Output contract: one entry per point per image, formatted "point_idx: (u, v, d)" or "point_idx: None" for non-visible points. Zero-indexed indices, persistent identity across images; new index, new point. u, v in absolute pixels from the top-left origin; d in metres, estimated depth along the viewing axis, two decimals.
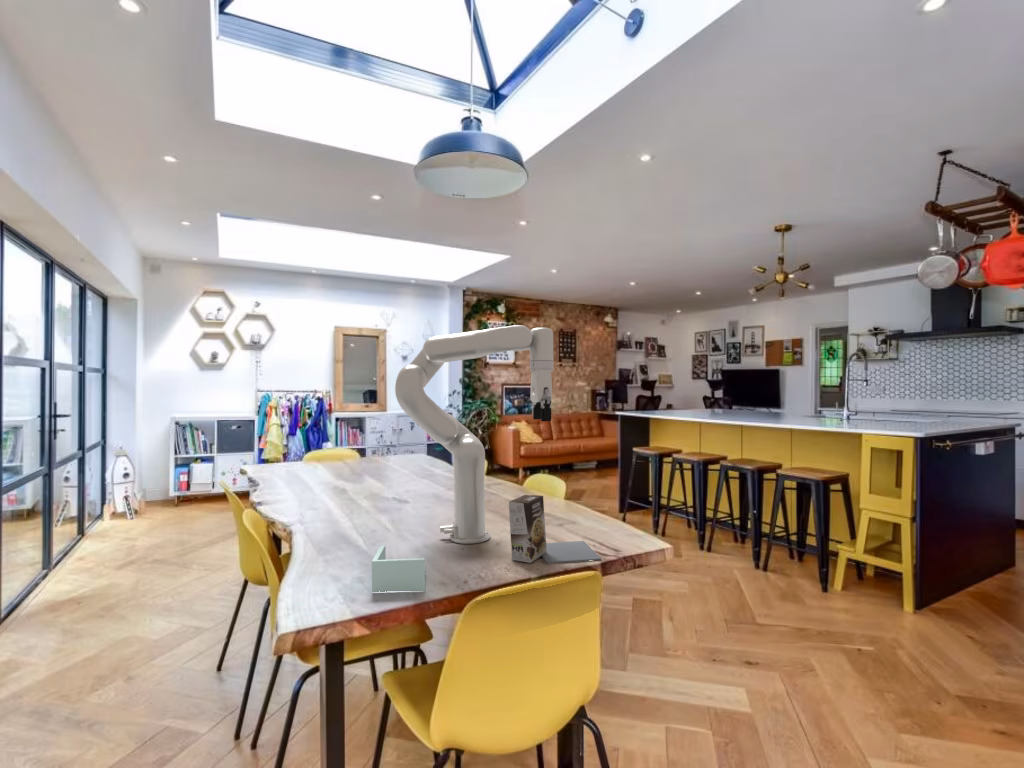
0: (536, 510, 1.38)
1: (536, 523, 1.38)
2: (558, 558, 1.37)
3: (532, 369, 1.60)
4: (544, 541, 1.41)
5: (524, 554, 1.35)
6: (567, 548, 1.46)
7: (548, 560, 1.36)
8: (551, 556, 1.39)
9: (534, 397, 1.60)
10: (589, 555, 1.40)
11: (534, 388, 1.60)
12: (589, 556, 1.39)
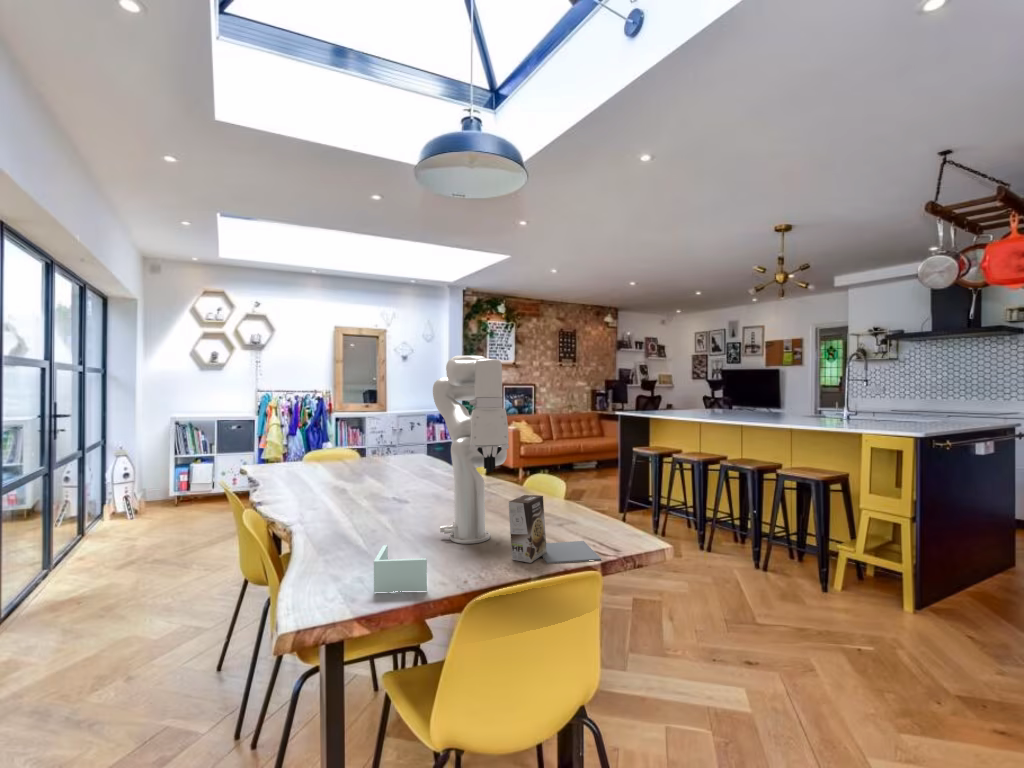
0: (536, 510, 1.38)
1: (536, 523, 1.38)
2: (558, 558, 1.37)
3: (495, 407, 1.35)
4: (544, 541, 1.41)
5: (524, 554, 1.35)
6: (567, 548, 1.46)
7: (548, 560, 1.36)
8: (551, 556, 1.39)
9: (495, 440, 1.36)
10: (589, 555, 1.40)
11: (495, 430, 1.36)
12: (589, 556, 1.39)
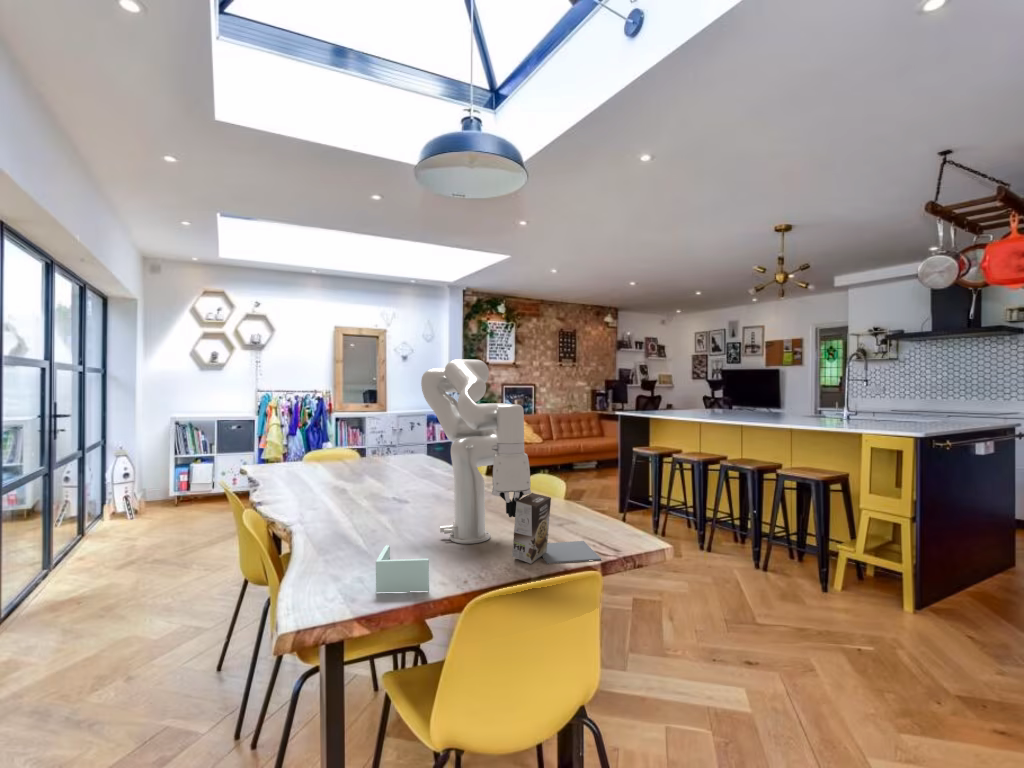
0: (543, 512, 1.36)
1: (541, 525, 1.37)
2: (558, 558, 1.37)
3: (517, 453, 1.36)
4: (546, 541, 1.41)
5: (525, 554, 1.35)
6: (567, 548, 1.46)
7: (548, 560, 1.36)
8: (551, 556, 1.39)
9: (518, 486, 1.36)
10: (589, 555, 1.40)
11: (517, 475, 1.37)
12: (589, 556, 1.39)
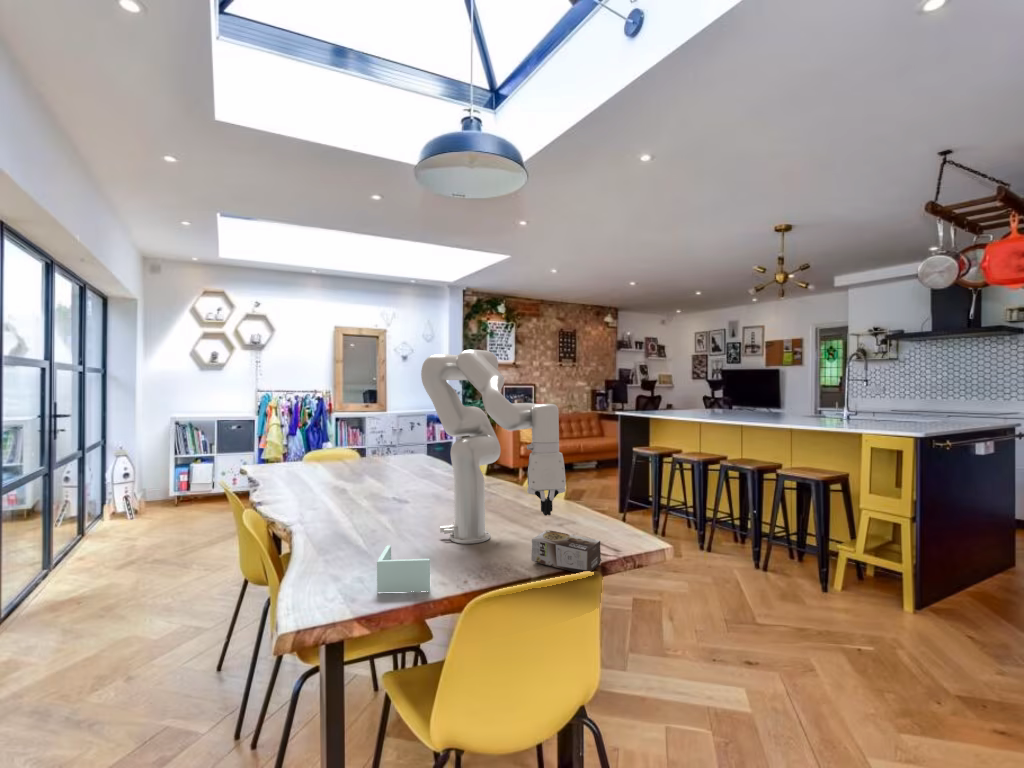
0: None
1: None
2: None
3: (553, 452, 1.38)
4: None
5: (538, 556, 1.33)
6: None
7: None
8: None
9: (553, 485, 1.38)
10: None
11: (553, 474, 1.38)
12: None
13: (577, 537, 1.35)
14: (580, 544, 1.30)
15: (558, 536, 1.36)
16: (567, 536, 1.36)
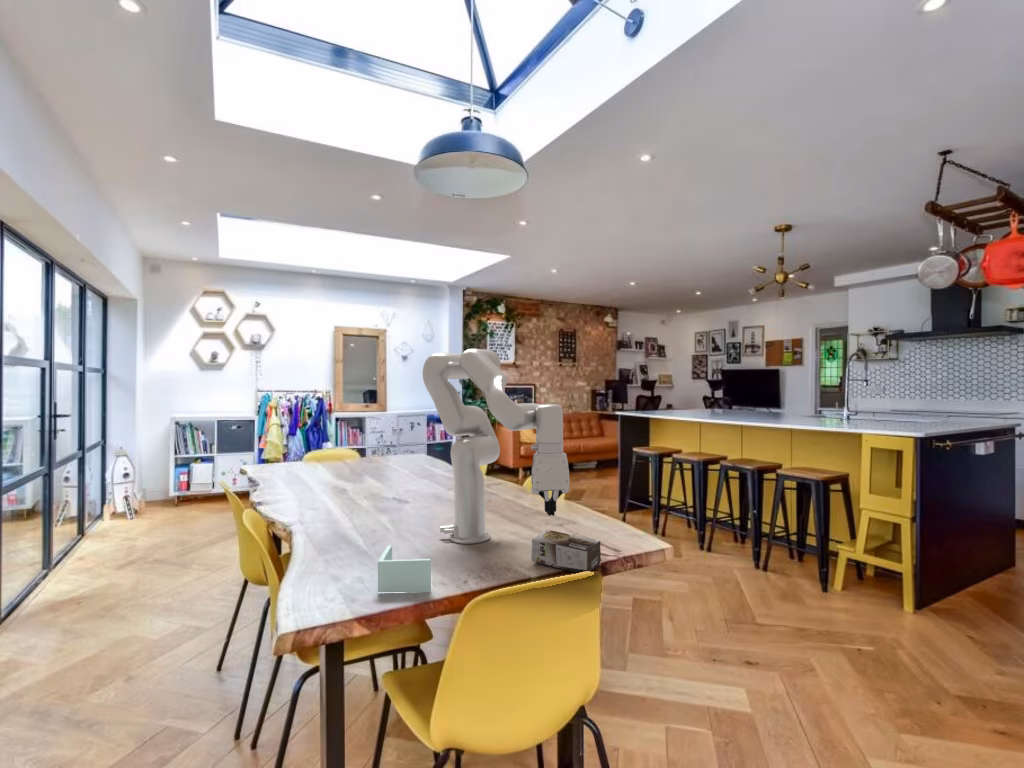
0: None
1: None
2: None
3: (557, 453, 1.38)
4: None
5: (538, 556, 1.33)
6: None
7: None
8: None
9: (557, 485, 1.38)
10: None
11: (557, 474, 1.38)
12: None
13: (577, 537, 1.35)
14: (580, 544, 1.30)
15: (558, 536, 1.36)
16: (567, 536, 1.36)
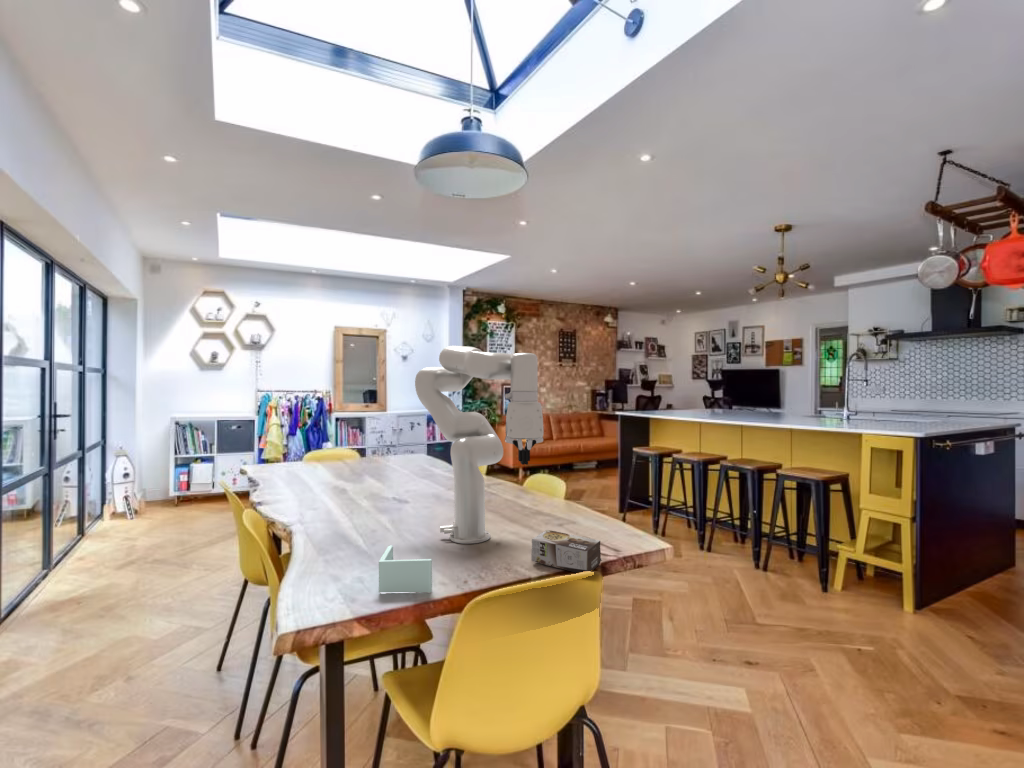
0: None
1: None
2: None
3: (531, 401, 1.37)
4: None
5: (538, 556, 1.33)
6: None
7: None
8: None
9: (531, 433, 1.38)
10: None
11: (531, 423, 1.38)
12: None
13: (577, 537, 1.35)
14: (580, 544, 1.30)
15: (558, 536, 1.36)
16: (567, 536, 1.36)
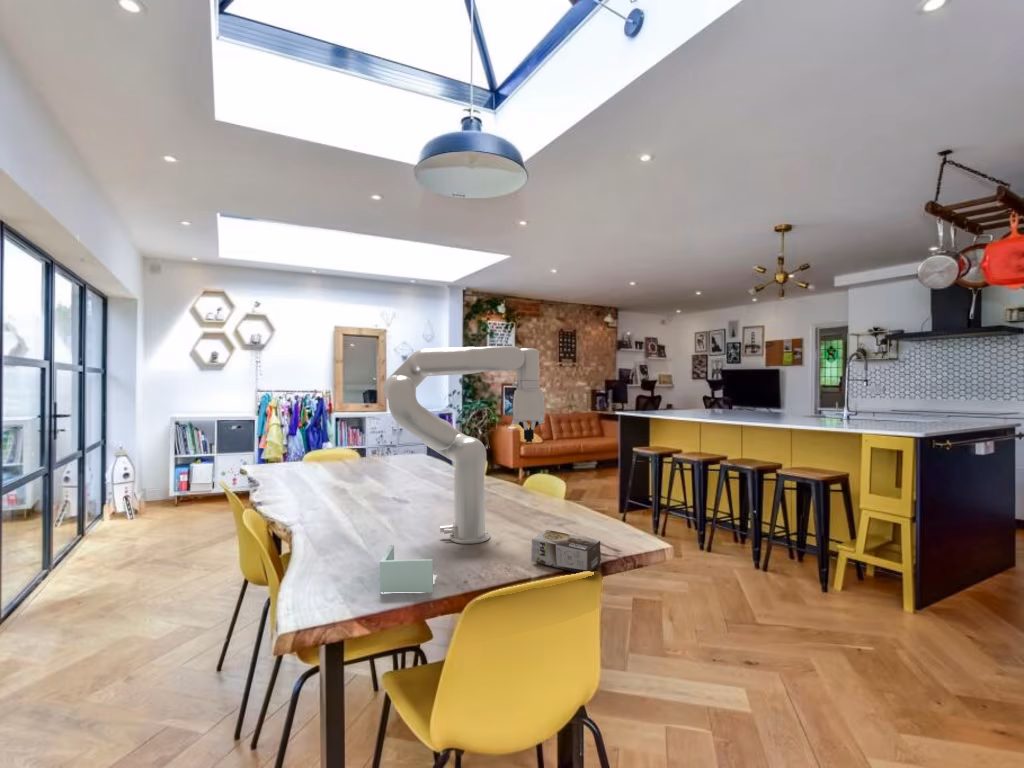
0: None
1: None
2: None
3: (534, 388, 1.63)
4: None
5: (538, 556, 1.33)
6: None
7: None
8: None
9: (534, 416, 1.64)
10: None
11: (534, 407, 1.64)
12: None
13: (577, 537, 1.35)
14: (580, 544, 1.30)
15: (558, 536, 1.36)
16: (567, 536, 1.36)
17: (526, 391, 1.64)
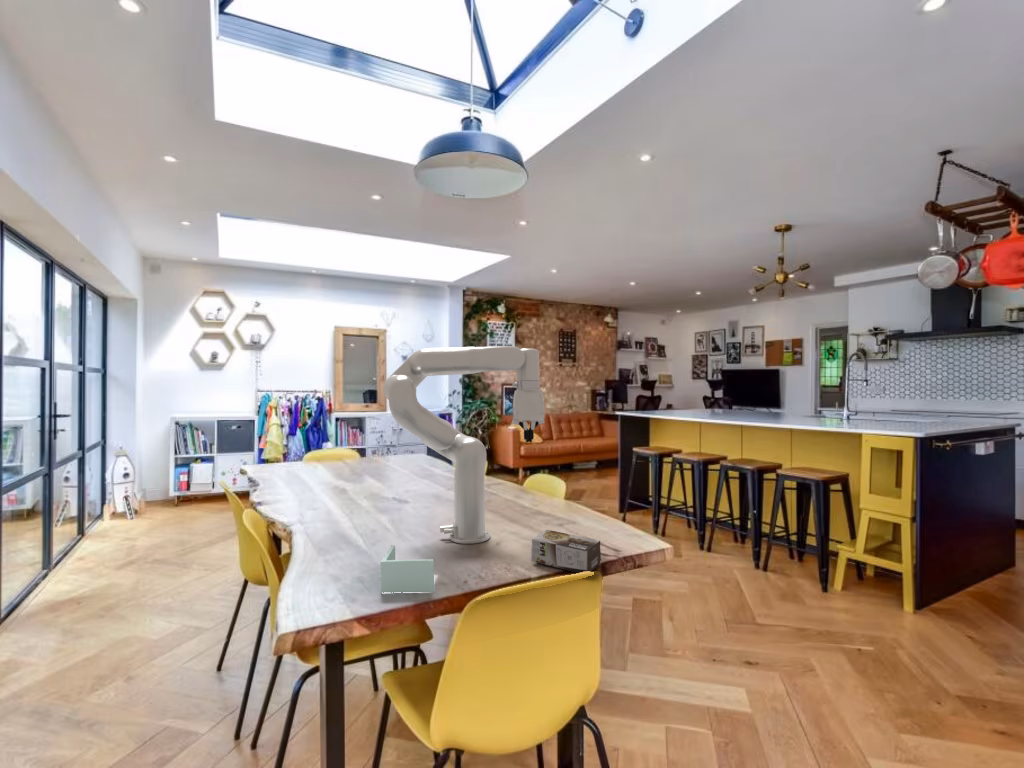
0: None
1: None
2: None
3: (534, 388, 1.63)
4: None
5: (538, 556, 1.33)
6: None
7: None
8: None
9: (534, 416, 1.64)
10: None
11: (534, 407, 1.64)
12: None
13: (577, 537, 1.35)
14: (580, 544, 1.30)
15: (558, 536, 1.36)
16: (567, 536, 1.36)
17: (526, 391, 1.64)
